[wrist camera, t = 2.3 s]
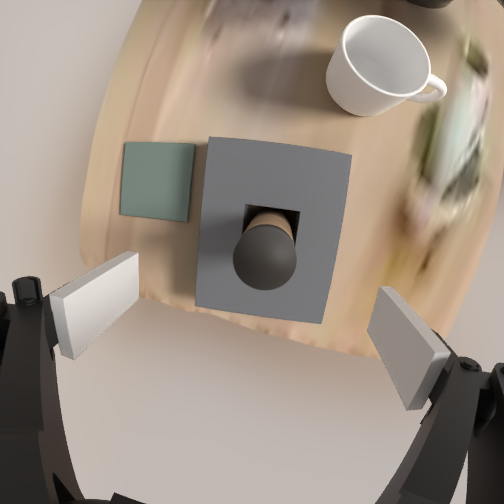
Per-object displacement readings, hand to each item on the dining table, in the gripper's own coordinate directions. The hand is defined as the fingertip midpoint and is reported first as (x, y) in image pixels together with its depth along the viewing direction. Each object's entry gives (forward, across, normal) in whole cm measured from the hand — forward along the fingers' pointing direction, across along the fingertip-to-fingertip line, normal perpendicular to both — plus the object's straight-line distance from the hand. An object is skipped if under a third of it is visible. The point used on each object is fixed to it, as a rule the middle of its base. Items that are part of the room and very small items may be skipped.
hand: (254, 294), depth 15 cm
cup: (+18, +10, +18) cm, 28 cm away
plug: (+18, 0, 0) cm, 18 cm away
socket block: (+18, 0, 0) cm, 18 cm away
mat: (+18, -14, +4) cm, 23 cm away
